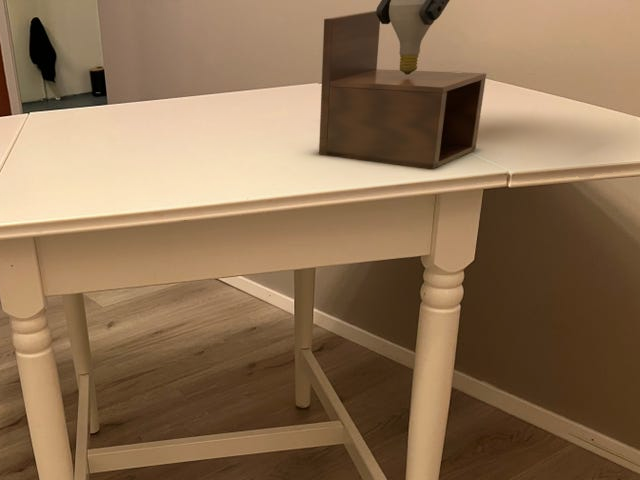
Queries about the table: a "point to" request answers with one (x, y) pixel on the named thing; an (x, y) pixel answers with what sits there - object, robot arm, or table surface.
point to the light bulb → (408, 31)
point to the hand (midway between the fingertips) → (402, 19)
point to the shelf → (391, 102)
